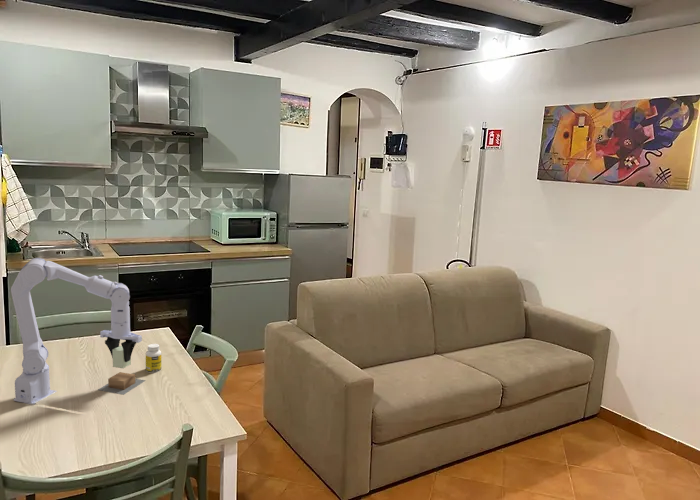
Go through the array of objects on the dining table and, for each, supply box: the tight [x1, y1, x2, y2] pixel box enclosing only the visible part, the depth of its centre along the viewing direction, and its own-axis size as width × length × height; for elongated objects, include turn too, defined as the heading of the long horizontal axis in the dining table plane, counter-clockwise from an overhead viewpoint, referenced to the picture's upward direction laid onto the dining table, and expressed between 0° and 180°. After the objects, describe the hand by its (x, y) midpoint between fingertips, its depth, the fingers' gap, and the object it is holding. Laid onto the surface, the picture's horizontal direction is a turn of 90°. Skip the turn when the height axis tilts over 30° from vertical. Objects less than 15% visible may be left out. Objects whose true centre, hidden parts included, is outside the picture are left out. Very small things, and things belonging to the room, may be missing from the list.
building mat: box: [97, 378, 146, 396], centre depth 185 cm, size 12×10×1 cm
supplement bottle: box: [145, 343, 162, 374], centre depth 198 cm, size 5×5×10 cm
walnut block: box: [107, 371, 136, 390], centre depth 184 cm, size 6×6×3 cm
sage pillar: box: [112, 345, 132, 369], centre depth 183 cm, size 4×4×6 cm
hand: (121, 360), depth 183 cm, fingers closed on sage pillar, 4 cm apart
